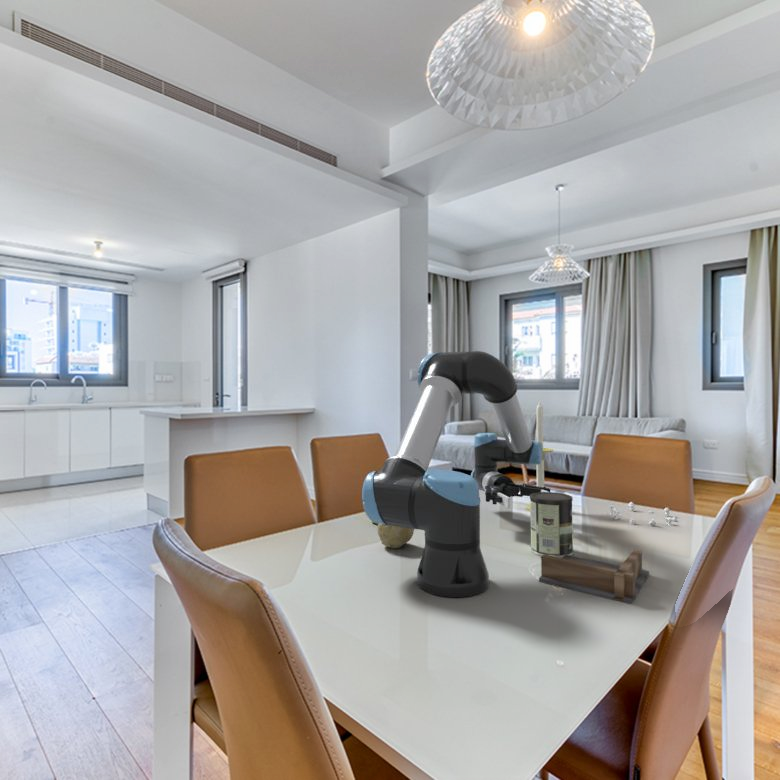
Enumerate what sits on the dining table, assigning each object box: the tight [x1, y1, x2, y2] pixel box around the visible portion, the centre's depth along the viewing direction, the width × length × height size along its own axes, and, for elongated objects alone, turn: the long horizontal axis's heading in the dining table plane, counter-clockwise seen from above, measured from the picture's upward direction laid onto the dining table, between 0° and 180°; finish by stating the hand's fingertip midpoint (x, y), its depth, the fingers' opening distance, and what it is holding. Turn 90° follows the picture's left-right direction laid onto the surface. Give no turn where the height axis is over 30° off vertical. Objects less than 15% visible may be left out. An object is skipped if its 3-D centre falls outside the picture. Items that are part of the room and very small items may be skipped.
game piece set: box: [606, 501, 678, 526], centre depth 152 cm, size 19×20×4 cm
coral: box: [377, 523, 415, 549], centre depth 128 cm, size 10×10×10 cm
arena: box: [538, 548, 650, 605], centre depth 105 cm, size 18×18×5 cm
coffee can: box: [529, 491, 574, 558], centre depth 122 cm, size 10×10×14 cm
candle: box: [525, 399, 554, 512], centre depth 165 cm, size 10×10×38 cm
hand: (532, 501), depth 132 cm, fingers open, 13 cm apart
